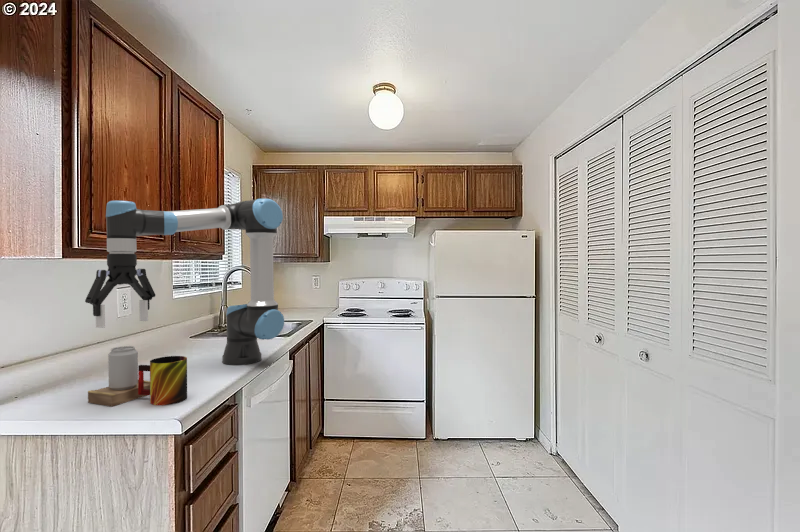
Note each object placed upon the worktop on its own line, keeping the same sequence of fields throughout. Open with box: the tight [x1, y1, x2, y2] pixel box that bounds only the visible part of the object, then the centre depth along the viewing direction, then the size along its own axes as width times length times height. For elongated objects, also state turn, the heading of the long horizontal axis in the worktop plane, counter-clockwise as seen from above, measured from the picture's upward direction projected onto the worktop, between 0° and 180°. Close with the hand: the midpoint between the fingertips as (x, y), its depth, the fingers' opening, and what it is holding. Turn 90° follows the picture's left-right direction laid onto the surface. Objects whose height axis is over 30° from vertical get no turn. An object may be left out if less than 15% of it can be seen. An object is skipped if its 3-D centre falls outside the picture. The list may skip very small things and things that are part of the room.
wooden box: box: [87, 379, 150, 407], centre depth 131 cm, size 14×10×3 cm
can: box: [107, 345, 139, 390], centre depth 131 cm, size 8×8×12 cm
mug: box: [138, 355, 188, 406], centre depth 128 cm, size 10×14×12 cm
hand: (123, 324), depth 131 cm, fingers open, 13 cm apart
